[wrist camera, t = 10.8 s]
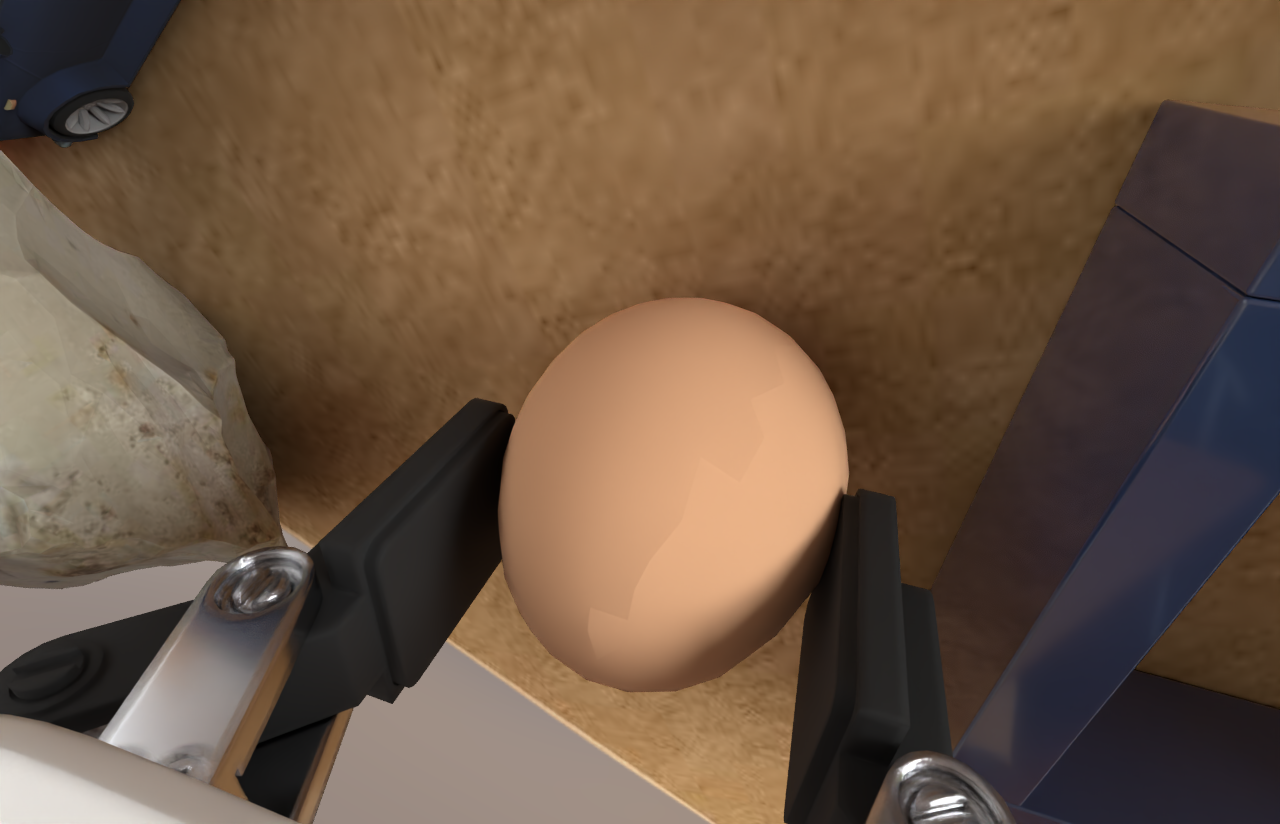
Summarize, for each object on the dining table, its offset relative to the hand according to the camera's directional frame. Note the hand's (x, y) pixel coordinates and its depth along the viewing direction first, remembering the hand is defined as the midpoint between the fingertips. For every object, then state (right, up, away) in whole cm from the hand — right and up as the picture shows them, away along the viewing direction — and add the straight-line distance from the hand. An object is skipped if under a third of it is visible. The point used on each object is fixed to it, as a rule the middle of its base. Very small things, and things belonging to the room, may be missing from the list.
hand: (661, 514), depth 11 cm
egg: (+1, +3, +4) cm, 5 cm away
